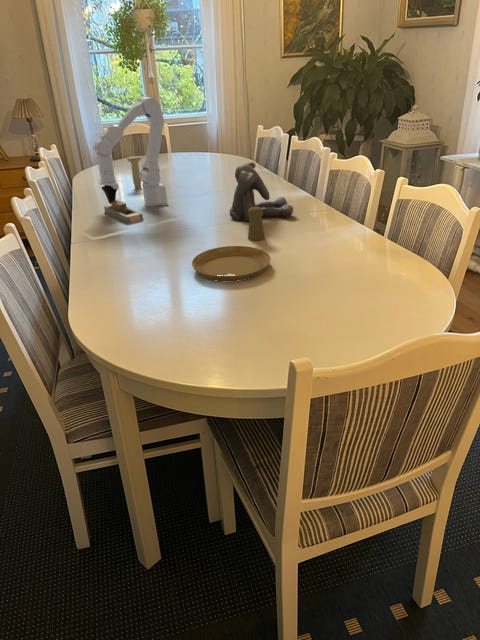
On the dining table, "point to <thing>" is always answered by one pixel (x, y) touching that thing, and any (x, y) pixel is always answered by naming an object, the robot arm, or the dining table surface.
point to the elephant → (245, 196)
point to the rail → (130, 218)
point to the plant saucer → (231, 263)
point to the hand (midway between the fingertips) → (112, 203)
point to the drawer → (119, 206)
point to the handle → (135, 170)
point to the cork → (255, 224)
